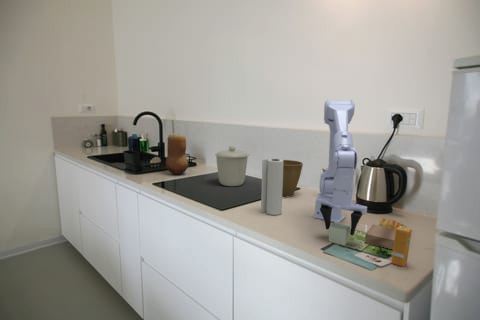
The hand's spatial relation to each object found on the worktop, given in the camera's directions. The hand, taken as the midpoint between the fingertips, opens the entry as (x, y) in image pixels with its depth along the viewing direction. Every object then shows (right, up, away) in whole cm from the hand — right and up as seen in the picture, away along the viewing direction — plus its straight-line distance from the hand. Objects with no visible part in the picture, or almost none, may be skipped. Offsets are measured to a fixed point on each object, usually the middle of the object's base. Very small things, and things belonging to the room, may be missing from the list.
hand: (339, 231), depth 99 cm
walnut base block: (+14, -3, 0) cm, 15 cm away
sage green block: (0, -3, +1) cm, 3 cm away
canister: (-36, +9, +72) cm, 81 cm away
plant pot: (-9, +5, +53) cm, 54 cm away
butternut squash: (-70, +13, +96) cm, 120 cm away
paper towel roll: (-18, +1, +26) cm, 32 cm away
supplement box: (+12, -6, -14) cm, 19 cm away
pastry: (+21, -2, +10) cm, 23 cm away
